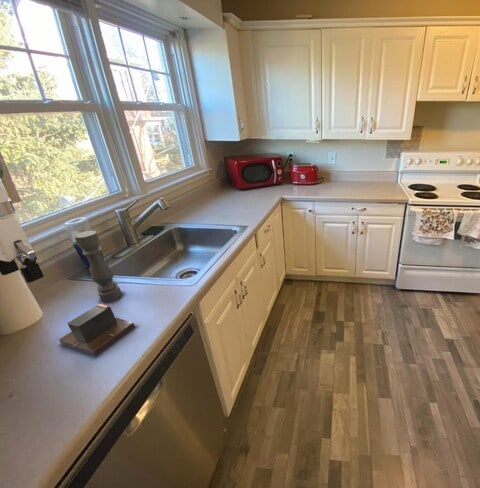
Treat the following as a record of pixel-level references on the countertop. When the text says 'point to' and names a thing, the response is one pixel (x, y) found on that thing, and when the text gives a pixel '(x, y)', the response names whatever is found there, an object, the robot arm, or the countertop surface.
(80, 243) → the candle holder
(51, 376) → the countertop surface
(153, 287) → the countertop surface
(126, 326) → the stand
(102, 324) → the clock
